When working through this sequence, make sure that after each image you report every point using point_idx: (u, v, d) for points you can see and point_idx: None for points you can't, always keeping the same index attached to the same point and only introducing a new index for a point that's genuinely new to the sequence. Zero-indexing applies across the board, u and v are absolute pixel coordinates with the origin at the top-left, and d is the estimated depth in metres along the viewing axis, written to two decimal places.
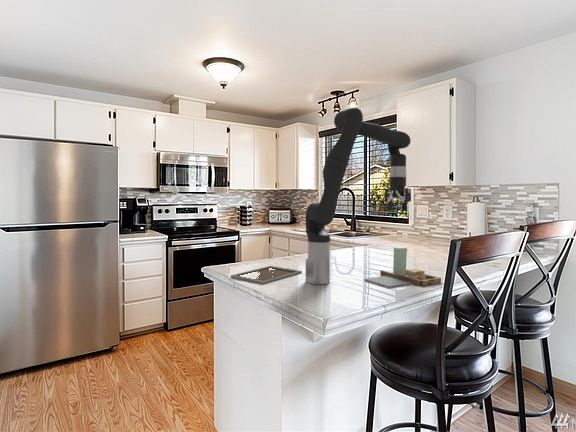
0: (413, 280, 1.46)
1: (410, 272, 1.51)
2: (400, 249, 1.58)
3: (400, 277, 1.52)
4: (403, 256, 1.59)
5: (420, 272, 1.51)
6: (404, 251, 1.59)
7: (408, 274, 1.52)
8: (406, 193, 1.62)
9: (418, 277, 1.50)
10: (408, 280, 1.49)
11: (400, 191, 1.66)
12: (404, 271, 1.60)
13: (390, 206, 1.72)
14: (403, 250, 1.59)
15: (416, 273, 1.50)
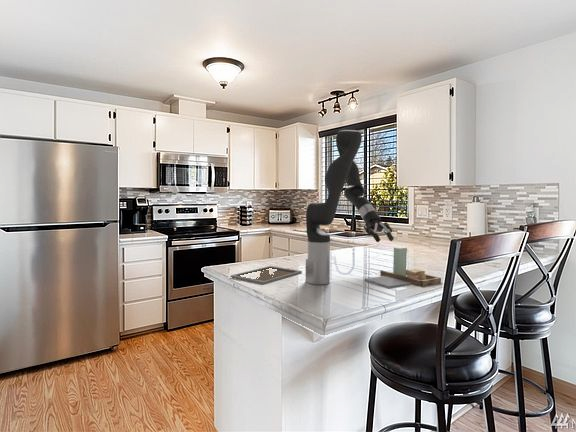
0: (413, 280, 1.46)
1: (410, 272, 1.51)
2: (400, 249, 1.58)
3: (400, 277, 1.52)
4: (403, 256, 1.59)
5: (420, 272, 1.51)
6: (404, 251, 1.59)
7: (408, 274, 1.52)
8: (388, 225, 1.75)
9: (418, 277, 1.50)
10: (408, 280, 1.49)
11: None
12: (404, 271, 1.60)
13: None
14: (403, 250, 1.59)
15: (416, 273, 1.50)
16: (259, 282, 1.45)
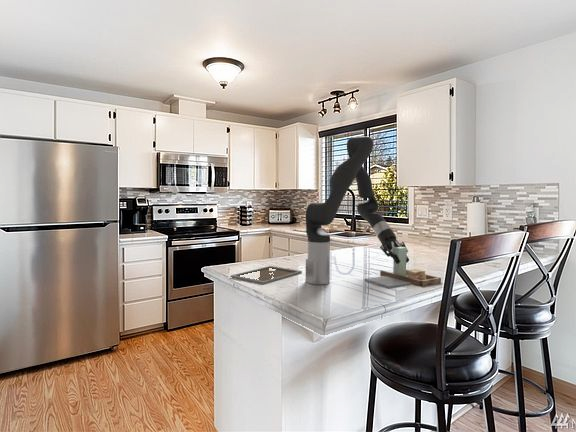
0: (413, 280, 1.46)
1: (410, 272, 1.51)
2: (400, 249, 1.58)
3: (400, 277, 1.52)
4: (403, 256, 1.59)
5: (420, 272, 1.51)
6: (404, 251, 1.59)
7: (409, 274, 1.52)
8: (404, 245, 1.65)
9: (418, 277, 1.50)
10: (408, 280, 1.49)
11: None
12: (404, 271, 1.60)
13: None
14: (403, 250, 1.59)
15: (416, 273, 1.50)
16: (259, 282, 1.45)
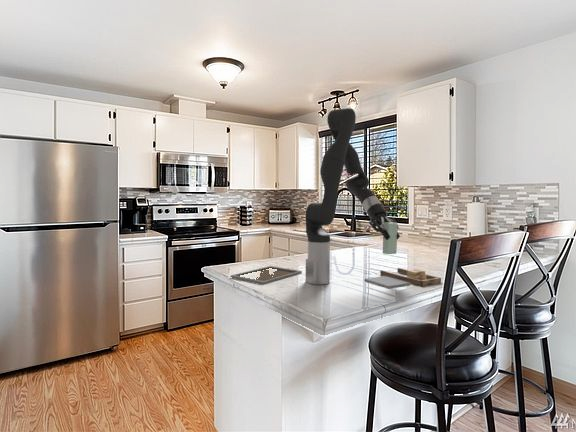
0: (413, 280, 1.46)
1: (411, 272, 1.51)
2: (390, 224, 1.48)
3: (400, 277, 1.52)
4: (394, 232, 1.49)
5: (421, 272, 1.50)
6: (395, 226, 1.49)
7: (409, 274, 1.52)
8: (395, 222, 1.55)
9: (419, 277, 1.50)
10: (408, 280, 1.49)
11: None
12: (394, 248, 1.49)
13: None
14: (394, 225, 1.49)
15: (417, 273, 1.49)
16: (259, 282, 1.45)
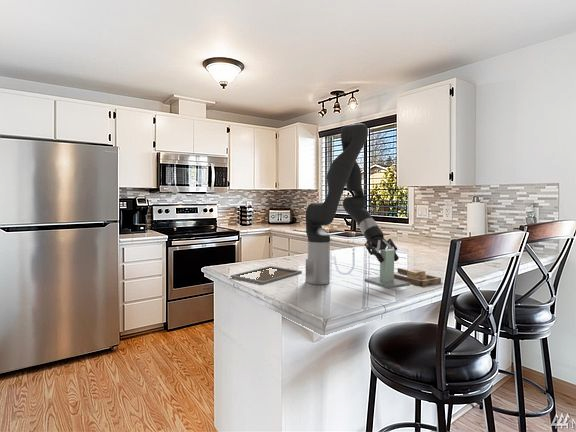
0: (413, 280, 1.46)
1: (411, 272, 1.50)
2: (387, 252, 1.46)
3: (400, 277, 1.52)
4: (391, 259, 1.47)
5: (421, 272, 1.50)
6: (392, 253, 1.47)
7: (409, 274, 1.51)
8: (392, 242, 1.54)
9: (419, 277, 1.49)
10: (408, 280, 1.49)
11: None
12: (391, 276, 1.48)
13: None
14: (391, 252, 1.47)
15: (417, 273, 1.49)
16: (259, 282, 1.45)
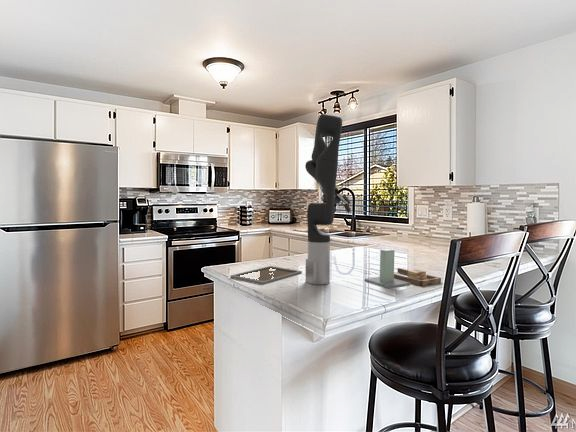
0: (413, 280, 1.46)
1: (411, 273, 1.50)
2: (387, 252, 1.46)
3: (400, 277, 1.52)
4: (391, 259, 1.47)
5: (421, 273, 1.50)
6: (392, 253, 1.47)
7: (409, 274, 1.51)
8: (346, 197, 1.76)
9: (419, 278, 1.49)
10: (408, 280, 1.49)
11: None
12: (391, 276, 1.48)
13: None
14: (391, 252, 1.47)
15: (417, 274, 1.49)
16: (259, 282, 1.45)
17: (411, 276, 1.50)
